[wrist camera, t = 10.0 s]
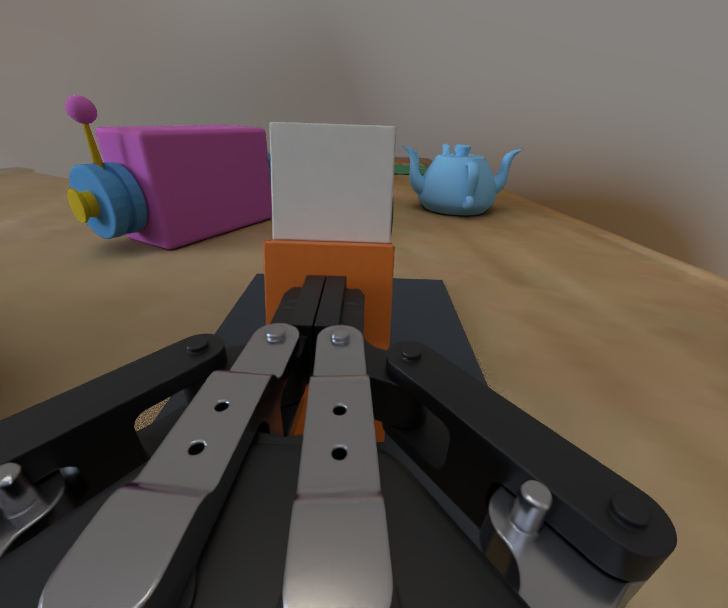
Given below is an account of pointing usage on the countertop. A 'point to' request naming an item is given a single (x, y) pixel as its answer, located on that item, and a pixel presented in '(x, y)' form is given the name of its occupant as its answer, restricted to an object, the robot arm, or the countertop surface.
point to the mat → (408, 323)
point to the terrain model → (407, 167)
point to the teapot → (458, 181)
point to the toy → (170, 180)
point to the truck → (333, 218)
